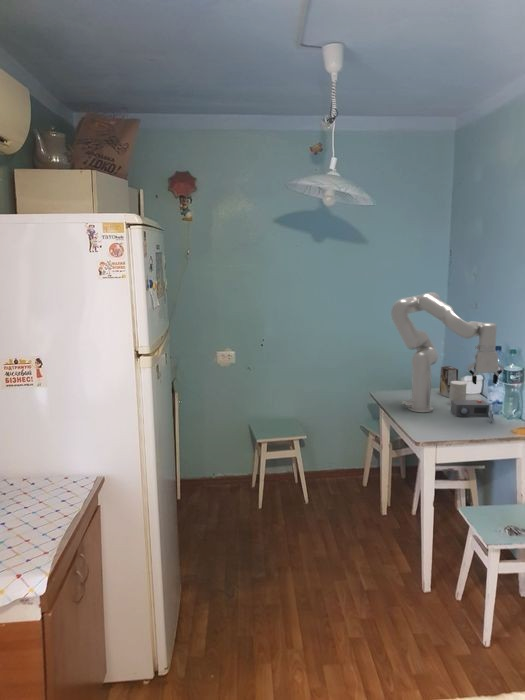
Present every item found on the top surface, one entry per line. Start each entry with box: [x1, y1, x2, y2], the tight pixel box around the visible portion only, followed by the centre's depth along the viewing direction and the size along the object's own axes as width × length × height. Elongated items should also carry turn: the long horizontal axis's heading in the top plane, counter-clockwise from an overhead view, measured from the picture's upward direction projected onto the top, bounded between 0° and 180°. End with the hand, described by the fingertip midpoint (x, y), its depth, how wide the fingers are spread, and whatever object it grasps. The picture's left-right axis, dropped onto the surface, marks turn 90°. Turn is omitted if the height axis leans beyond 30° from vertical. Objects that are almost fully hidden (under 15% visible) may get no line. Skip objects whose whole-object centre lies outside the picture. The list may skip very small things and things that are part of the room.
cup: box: [449, 380, 467, 406], centre depth 284 cm, size 8×8×12 cm
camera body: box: [450, 399, 490, 417], centre depth 267 cm, size 16×11×7 cm, turn 86°
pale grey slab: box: [489, 403, 494, 423], centre depth 257 cm, size 10×2×6 cm, turn 156°
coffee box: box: [439, 365, 459, 398], centre depth 301 cm, size 9×6×16 cm
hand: (484, 383), depth 254 cm, fingers open, 9 cm apart
